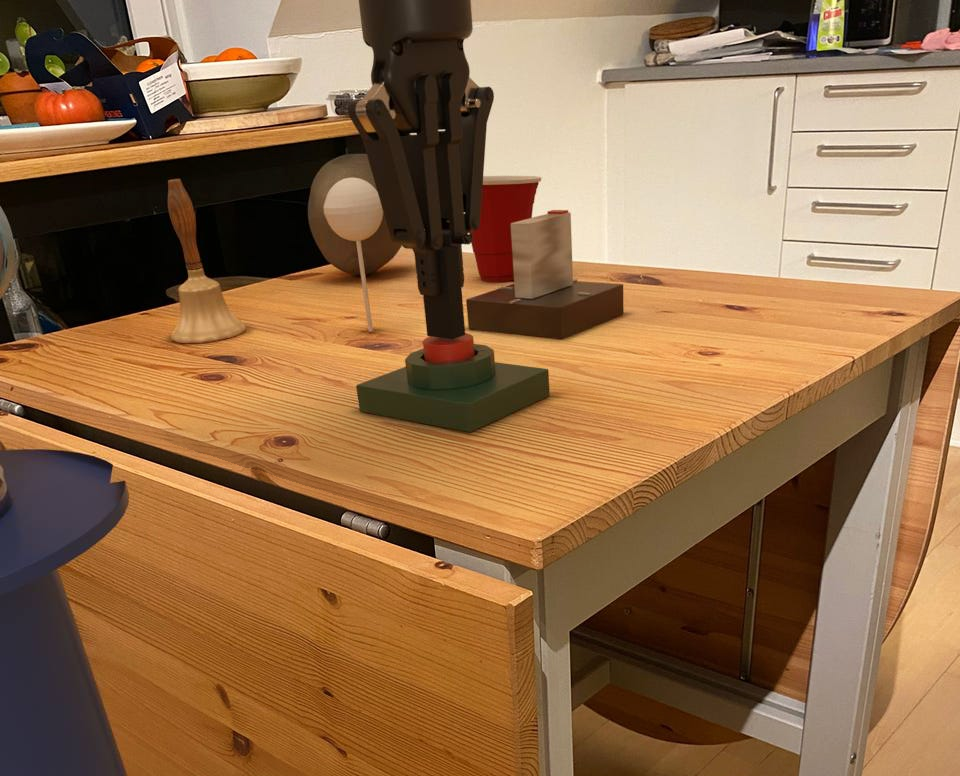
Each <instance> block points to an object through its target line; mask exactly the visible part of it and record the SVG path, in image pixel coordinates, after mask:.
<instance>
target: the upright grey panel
mask: <svg viewBox="0 0 960 776" xmlns="http://www.w3.org/2000/svg"><path fill="white" fill-rule="evenodd" d="M511 238H512V254H513V270H514V280H513V284H514V286H515V297H516V298H527V299H533V298H536V297H539V296H542V295H545V294H548V293H551V292H554V291H557V290H559V289H562V288H565V287H568V286H571V285H573V280H574V269H573V267H574V266H573V241H572V240H573V239H572V238H573V237H572V213H571V212H570V211H569V210H568V209H551V210H548V211H547V213H545V214H542V215H537V216H532V218H529V219H525V220H522V221H518V222H514V223H511Z"/></svg>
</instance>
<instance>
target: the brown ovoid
mask: <svg viewBox="0 0 960 776" xmlns="http://www.w3.org/2000/svg"><path fill="white" fill-rule="evenodd" d="M345 178H359V179H362V180H365V181H367V182H368V183H369V184H371V185H372V186H373V187H374V188H375V189H376V191H377V188H376V185H375V181H374V178H373V174H372V171H371V167H370V164H369V160H368V157H367V153H350V154H342V155H339V156H337V157H336V158H333V159H331V160H329V161H327V162H326V163H325V164H324V165H322V167H320V169H319V170H318V172H316V174H315V177H314V178H313V180H312V183H311V186H310V192H309V197H308V203H307V219H308V224H309V229H310V232H311V235H312V237H313V240H314V241H315V244H316V246H317V247H318V249H319V251H320V252H321V254H322V256H323V257H324V259H325V260H326V261H327V262H328V263H330V264H331V265H332V266H333V267H334V268H336V269H337V270H338V271H340V272H342V273H344V274H348V275H351V276H361V273H360V266H359V258H358V251H357V244H356V241H351V240H347V239H344V238H342V237H340V236H339V235H337V234H336V233H335V232H334V231H333V230H332V228H331V227H330V225H329V224H328V221H327V219H326V217H325V214H324V203H325V200H326V197H327V194H328V192H329V191H330V189H331V188H332V187H333V185H334V184H336V183H337V182H338V181H340V180H343V179H345ZM402 247H403V246H402V245H401V244H395V243H393V242H392V240H391V237H390V234H389V230H388V227H387V223H386V220H385V216H384V213H383V217H382V221H381V224H380V226H379V228H378V229H377V231H376V232H375V233H374V234H373V235H371V236H370V237H369V238H366V239H364V240H361V248H362V255H363V262H364V270H365V276H366V275H370V274H373V273H375V272H377V271H378V270H380V269H381V268H383V267H384V266H385V265H387V264H388V263H389V262H391V261H392V260H393V259H394V258H395V257H396V256H397V254H398V252H399V251H400V249H401V248H402Z"/></svg>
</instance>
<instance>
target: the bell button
mask: <svg viewBox="0 0 960 776" xmlns="http://www.w3.org/2000/svg"><path fill="white" fill-rule="evenodd" d="M474 344H475V342H474V336H473V335H472V334H471V333H467V332H465V335H463V336H461V337H458V338H455V339H447V338H439V337H431V336H427V337H425V338H424V339H423V340H422V347H423V348H422V349H424V358H425V361H428V362H435V363H438V362H454V361H460V360H465V359H469V358H471V357H474V356H475V352H474Z"/></svg>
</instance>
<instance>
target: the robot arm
mask: <svg viewBox="0 0 960 776" xmlns="http://www.w3.org/2000/svg"><path fill="white" fill-rule="evenodd" d="M358 8H359V17H360V24H361V32H362V40H363V42H364V44H365V45H366V46H367V47H369V48H371V50H372V53H373V58H372V59H373V60H372V66H371V72H370V83H371V87H370V89H368V91H367V93H366V94H365V95H364V96H363V98H362V99H360V100H352V101H350V102H349V104H348V106H347V115H348V117H349V119H350V121H351V122H352V123H353V126H354V127H355V129H356V130H357V133H358V134H359V135H360V137H361V139H362V142H363V146H364V150H365V154H367V157H368V160H369V164H370V167H371V171H372V174H373V178H374V181H375V185H376V188H377V192H378V195H379V199H380V202H381V206H382V209H383V213H384V216H385V220H386V223H387V227H388V230H389V234H390V237H391V240H392V242H393V243H395V244H401V245H402V246H401V247H403V248H404V249H408V250H412V252H413V255H414V262H415V271H416V272H415V273H416V280H417V289H418V292H419V295H421V296H422V297H423V308H424V317H425V319H424V320H425V326H426V335H427V337H430V336H431V337H439V338H447V339H455V338H458V337H461V336H463V335H465V333H466V326H465V316H464V314H465V313H464V300H463V290H462V289H463V287H464V283H465V273H464V259H463V248H462V247H463V246H462V245H470V244H471V242H472V240H473V235H471V234H469V232H470V231H477V230H478V228H479V226H480V216H481V202H482V187H483V176H484V172H485V171H484V170H485V158H486V157H485V156H486V142H487V130H488V129H487V126H488V121H489V117H490V114H491V110H492V106H493V104H494V99H495V92H494V90H493V88H492V87H490V86H482V87H481V86H479V85H478V84H477V83H476V82H475V80H473V79H472V78H471V77H470V64H469V62H468V59H467V57H466V54H465V49H464V41H465V40H467V39H468V38H469V37H470V36H471V35H472V33H473V13H472V12H473V11H472V0H358ZM465 212H466V214H465ZM15 251H16V249H15V241H14V236H13V232H12V228H11V225H10V223H9V221H8V218H7V216H6V214H5V211H4V209H3V208H2V207H1V206H0V300H1V299H2V298H3V296H4V295H5V294H6V291H7V290H8V288H9V285H10V284H11V280H12V278H13V274H14V270H15V264H16V263H15V260H16V252H15ZM11 502H12V501H11V496H10V493H9V490H8V488H7V485H6V482H5V479H4V477H3V468H2V467H1V465H0V518H1V517H2V516H3V515H4V514H5V513H6V512H7V511H8V509H9V508H10V506H11Z"/></svg>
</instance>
